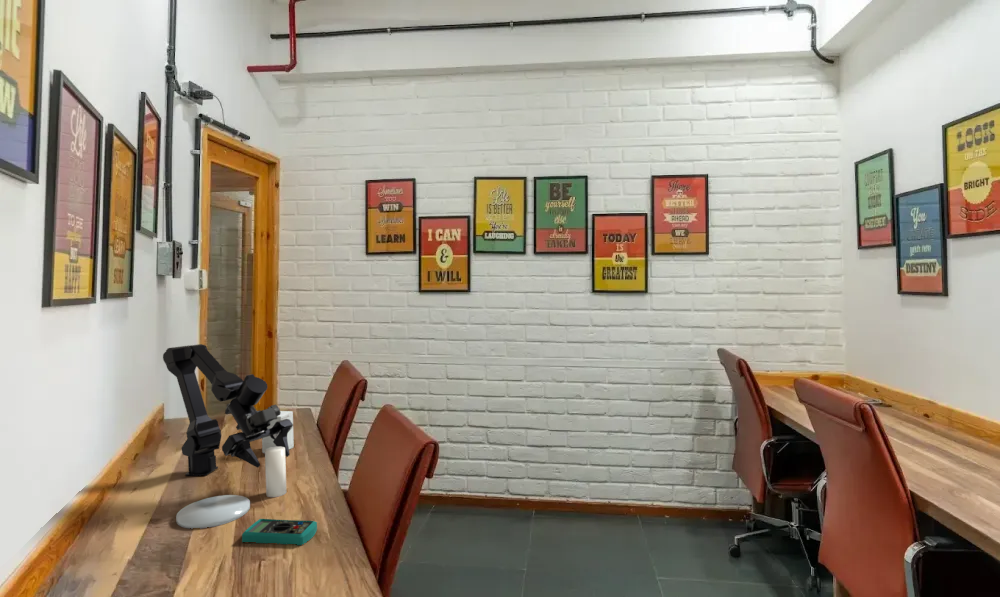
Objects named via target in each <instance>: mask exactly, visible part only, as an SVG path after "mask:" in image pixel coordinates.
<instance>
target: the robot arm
mask: <svg viewBox="0 0 1000 597" xmlns="http://www.w3.org/2000/svg"><path fill="white" fill-rule="evenodd" d="M162 360H163V362H164V364H165V367H166V368H167V371H169V372H170V373H171V374H172V375H174V376H175V378H176V379H177V383H178V387H179V390H180V393H181V397H182V400H183V404H184V408H185V410H186V411H185V412H186V415H187V418H188V421H189V424H188V428H187V430H186V440H185V442H184V443H183V444H182V445H181V447H180V448H181V453H182V456H186V457H187V463H188V466H187V468H188V471H187V472H186V473H185V475H186V477H187V476H188V477H189V476H191V477H194V476H196V477H198V475H199V477H202V476H201V475H204V476H203V477H205V475H206V476H208V475H210V474H211V473H213V472H214V471H216V470H217V469H219V466H217V457H216V456H217V455H215V450H219V449H220V445H221V441H222V431H221V429H220V425H219V421H218V420H217V419H216V418H214V419H212V418H211V417H210V416H209V415H208V411H207V409H206V406H205V402H204V398H203V394H202V391H201V389H200V385H199V382H198V378H197V375H196V374H197V373H196V372H195V371H196V369H197V368H198V370H199V371H200V372H201V373H202V374H203V375H204V377H206V379H207V381H209V382H210V384H211V388H210V389H211V390H210V391H211V392H212V394H213V395H214V397H215V398H216V400H217V401H219V402H225V401H230V402H229V403H227V404H226V408H225V413H224V414H226V415H228V414H231V416H232V417H233V419H234V420H235V422H236V424H237V425H236V427H235V428H236V430H237V431H239V430H241V431H239V432H236V433H233V434H230V435H228V437H227V439H226V440H225V441H224V443H223V444H222V446H221V451H222V453H223V455H224V456H226V457H227V456H229V455H230V457H236V458H237V459H240V460H243V461H245V462H246V463H248V464H250V465H252V466H253V467H256V468H260V466H261V462H260V461H259V459H258V458H257V456H256V453H255V452H254V450H253V449H252V447H251V442H255V441H257V440H260V439H261V440H262V438H264V437H268V436H270V437H271V438H272V439H274V441H273V443H274V444H275V445H276V446H277V447H285V458H286V457H290V454H291V453H290V449H289V447H288V441H287V434H288V432H289V431H290V429H291V427H292V426H293V427H294V423H293V424H292V422H291V421H290V420H289V419H284V420H281V421H277V422H276V423H275V424H274V426H273V427H272V428H270V429H268V428H267V427H268V426H270V424H271V422H270V421H272V420H274V419H277V416H279V415H280V413H281V412H280V411H281V410H280V407H279V406H278V405H277V404H272V405H270V406H268V407H267V409H263V410H257V409H256V407H255V405H257V404H258V403H259V402H260V400H261V399H262V397H263V395H264V394H265V393H266V391H267V390H268V384H267V382H266V380H264V379H262V378H260V377H257V376H255V375H254V374H253V373H252V374H246V376H245V377H244V378H241V377H240V376H238V375H237V374H236V373H232V372H229V371H227V370H226V369H225V368H224V367H223V366H222V364H220V362H219V361H218V360H217V359H216V358H215V357H214V356H213V354H212V353H210V351H209V350H208V347H207V346H206V345H205V344H203V343H201V344H198V343H197V344H194V345H193V344H192V345H191V344H190V345H181V346H175V347H174V346H172V347H168V348H167V349H166V350H165V351H164V353H163V354H162ZM215 469H216V470H215ZM212 471H213V472H212ZM209 473H210V474H209ZM207 474H208V475H207Z"/></svg>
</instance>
